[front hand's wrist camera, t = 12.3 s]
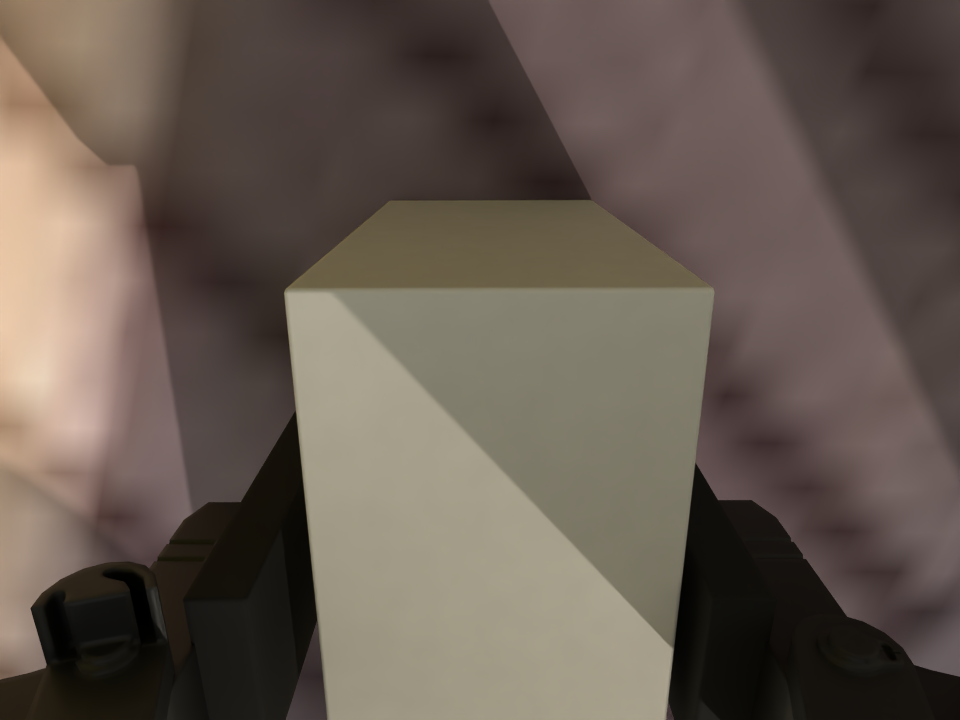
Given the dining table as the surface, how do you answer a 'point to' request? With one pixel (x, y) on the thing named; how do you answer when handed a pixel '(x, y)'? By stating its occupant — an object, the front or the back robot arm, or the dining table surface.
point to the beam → (497, 460)
